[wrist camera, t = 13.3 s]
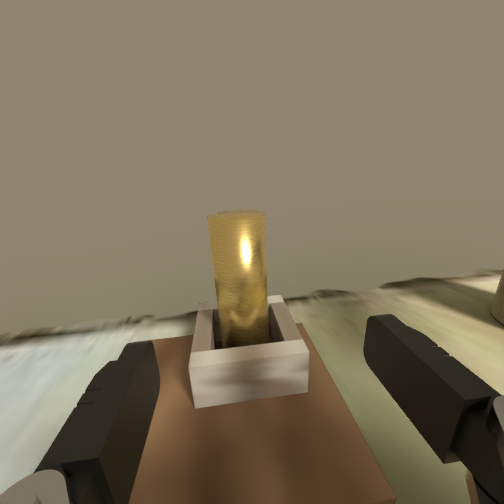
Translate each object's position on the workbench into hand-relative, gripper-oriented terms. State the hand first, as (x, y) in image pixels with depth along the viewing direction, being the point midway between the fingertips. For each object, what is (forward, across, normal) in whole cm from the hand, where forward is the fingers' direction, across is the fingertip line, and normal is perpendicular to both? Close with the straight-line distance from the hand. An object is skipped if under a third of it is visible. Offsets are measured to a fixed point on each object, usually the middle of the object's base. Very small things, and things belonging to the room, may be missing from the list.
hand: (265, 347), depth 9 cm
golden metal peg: (+11, 0, +11) cm, 16 cm away
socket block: (+8, +2, +12) cm, 14 cm away
